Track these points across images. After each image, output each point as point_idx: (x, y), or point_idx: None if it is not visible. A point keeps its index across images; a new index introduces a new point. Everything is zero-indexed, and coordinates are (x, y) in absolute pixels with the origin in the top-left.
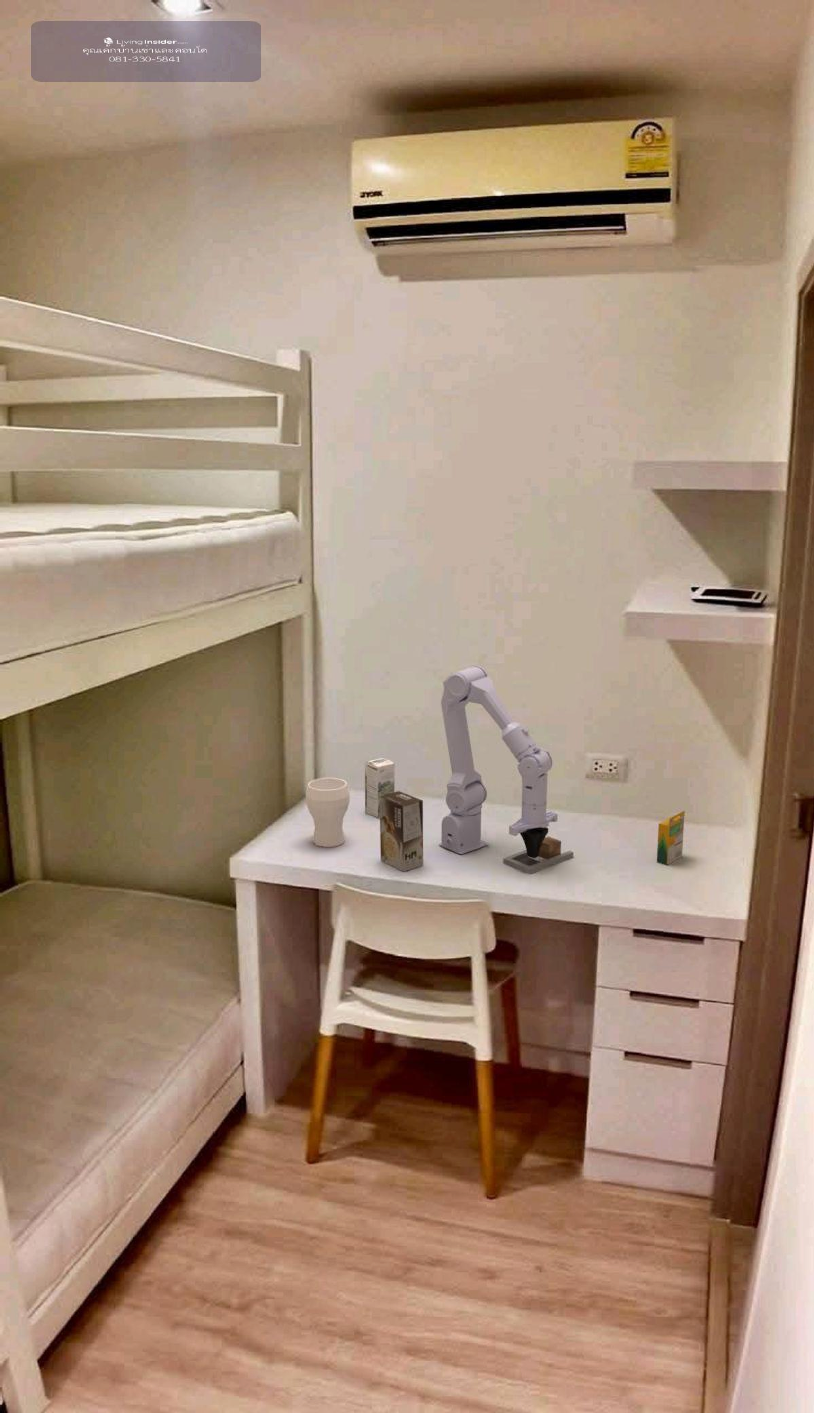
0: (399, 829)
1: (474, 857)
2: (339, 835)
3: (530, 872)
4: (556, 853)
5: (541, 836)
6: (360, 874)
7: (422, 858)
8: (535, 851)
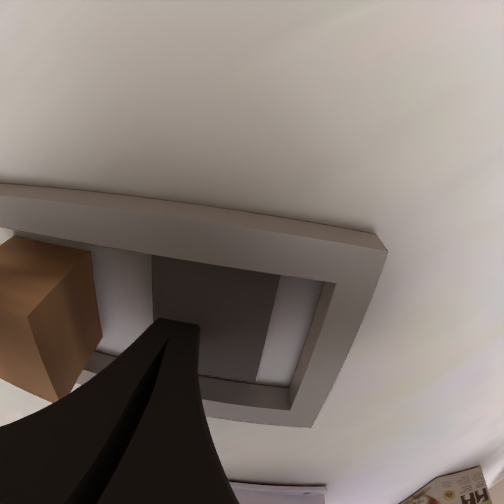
0: None
1: (320, 467)
2: None
3: (370, 237)
4: (21, 255)
5: (85, 463)
6: (496, 474)
7: (440, 492)
8: (185, 359)
